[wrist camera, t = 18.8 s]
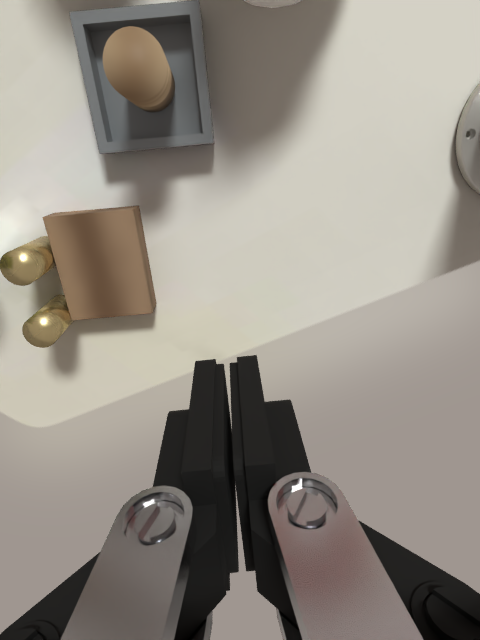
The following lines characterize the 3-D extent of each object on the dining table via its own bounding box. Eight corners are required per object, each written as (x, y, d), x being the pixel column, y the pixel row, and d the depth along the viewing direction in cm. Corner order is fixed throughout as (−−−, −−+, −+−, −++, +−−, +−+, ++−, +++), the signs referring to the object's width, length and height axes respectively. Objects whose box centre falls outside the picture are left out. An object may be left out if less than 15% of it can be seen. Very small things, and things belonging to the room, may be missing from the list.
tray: (200, 11, 30) (199, -1, 28) (214, 143, 34) (213, 142, 32) (80, 22, 30) (69, 11, 28) (107, 153, 34) (99, 153, 32)
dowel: (176, 60, 31) (168, 31, 24) (174, 115, 33) (165, 104, 25) (126, 52, 31) (101, 21, 23) (126, 108, 32) (103, 95, 25)
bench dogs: (59, 234, 37) (30, 249, 31) (82, 319, 41) (61, 345, 35) (28, 237, 37) (-6, 252, 31) (54, 322, 41) (28, 348, 35)
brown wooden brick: (139, 205, 37) (132, 209, 34) (157, 302, 41) (152, 313, 38) (56, 212, 37) (42, 217, 34) (81, 308, 41) (71, 320, 38)
